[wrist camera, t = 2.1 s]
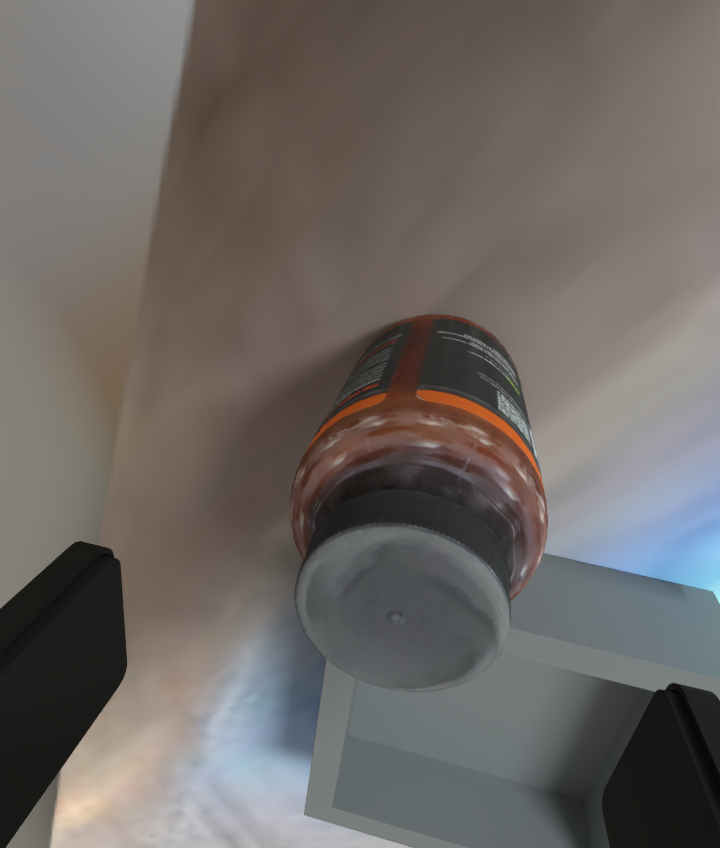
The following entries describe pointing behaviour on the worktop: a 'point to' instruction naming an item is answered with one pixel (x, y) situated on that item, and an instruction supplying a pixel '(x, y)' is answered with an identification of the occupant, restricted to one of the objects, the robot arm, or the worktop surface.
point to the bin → (516, 718)
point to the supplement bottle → (419, 509)
